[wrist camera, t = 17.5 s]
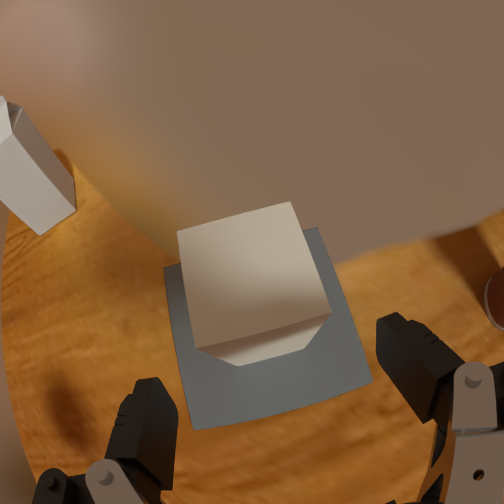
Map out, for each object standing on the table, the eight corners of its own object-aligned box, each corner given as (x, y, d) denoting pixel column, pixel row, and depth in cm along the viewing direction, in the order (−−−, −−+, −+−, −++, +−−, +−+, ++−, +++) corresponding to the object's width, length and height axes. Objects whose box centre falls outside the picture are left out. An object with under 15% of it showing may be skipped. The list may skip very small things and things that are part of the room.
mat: (316, 230, 27) (316, 226, 26) (370, 381, 20) (373, 381, 19) (165, 270, 26) (163, 267, 26) (195, 429, 19) (193, 430, 19)
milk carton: (77, 211, 31) (-6, 107, 14) (40, 237, 30) (-47, 149, 13) (74, 179, 34) (9, 84, 17) (40, 203, 33) (-29, 120, 16)
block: (285, 287, 24) (290, 201, 13) (304, 348, 21) (331, 311, 10) (222, 303, 23) (176, 231, 13) (237, 366, 21) (195, 348, 10)
